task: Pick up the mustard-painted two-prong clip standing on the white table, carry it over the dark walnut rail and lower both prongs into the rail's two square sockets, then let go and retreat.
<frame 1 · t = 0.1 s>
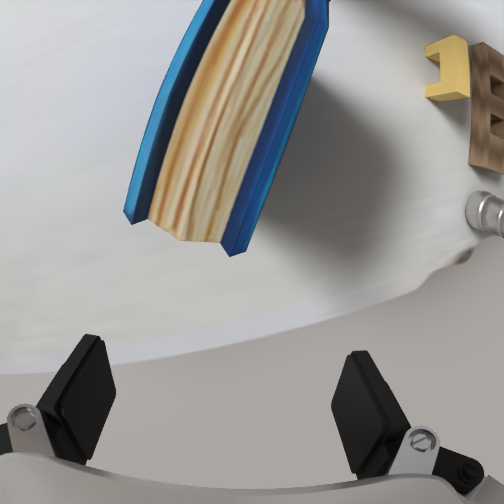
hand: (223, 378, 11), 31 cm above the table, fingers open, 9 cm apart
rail: (482, 107, 35), on the table
book: (241, 113, 36), on the table
clip: (431, 73, 34), on the table
plastic bottle: (472, 207, 41), on the table
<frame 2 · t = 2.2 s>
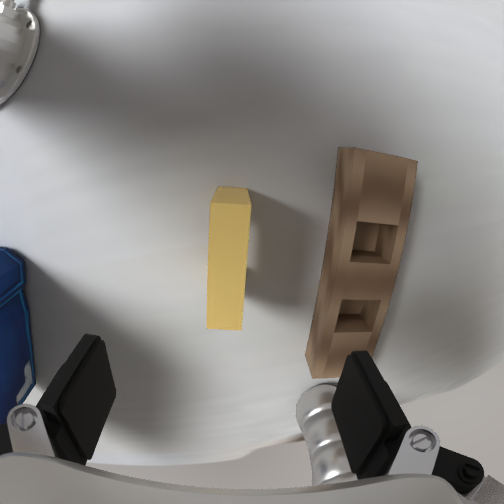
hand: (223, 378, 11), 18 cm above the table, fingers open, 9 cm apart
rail: (351, 265, 29), on the table
book: (14, 315, 30), on the table
clip: (229, 237, 27), on the table
plastic bottle: (317, 395, 35), on the table
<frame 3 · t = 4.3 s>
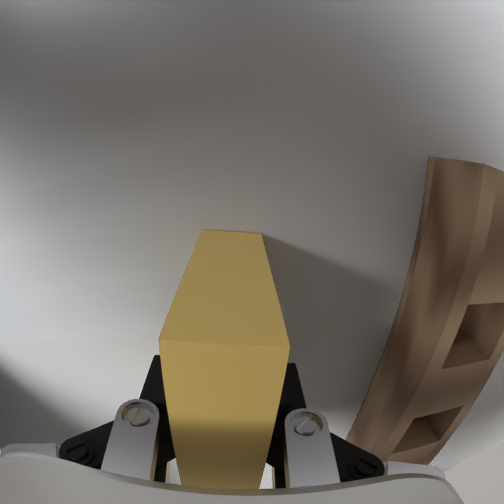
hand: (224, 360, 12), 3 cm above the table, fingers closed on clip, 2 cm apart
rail: (423, 349, 16), on the table
clip: (226, 321, 14), on the table, touching gripper
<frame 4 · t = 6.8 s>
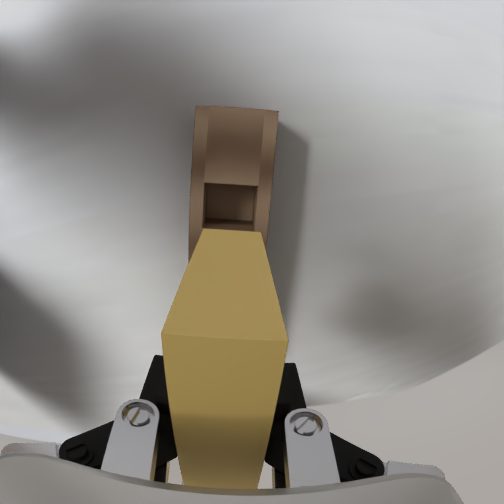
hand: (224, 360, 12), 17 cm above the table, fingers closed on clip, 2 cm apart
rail: (228, 237, 28), on the table
clip: (227, 319, 15), point 14 cm above the table, touching gripper
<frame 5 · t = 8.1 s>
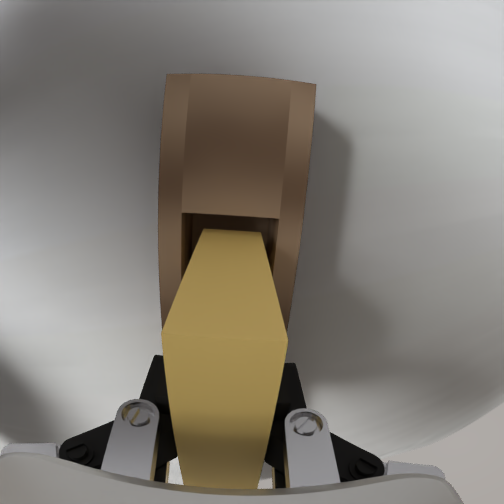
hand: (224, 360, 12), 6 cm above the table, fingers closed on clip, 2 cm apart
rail: (226, 288, 18), on the table
clip: (227, 319, 15), point 3 cm above the table, touching gripper
when the fingers open (4 cm above the table, at t = 9.3 s): clip stays where it is, resting on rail.
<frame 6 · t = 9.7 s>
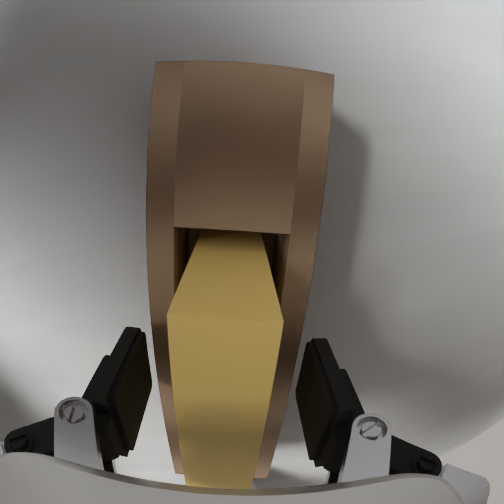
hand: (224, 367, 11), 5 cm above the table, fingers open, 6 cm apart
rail: (227, 307, 16), on the table
clip: (226, 312, 15), resting on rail
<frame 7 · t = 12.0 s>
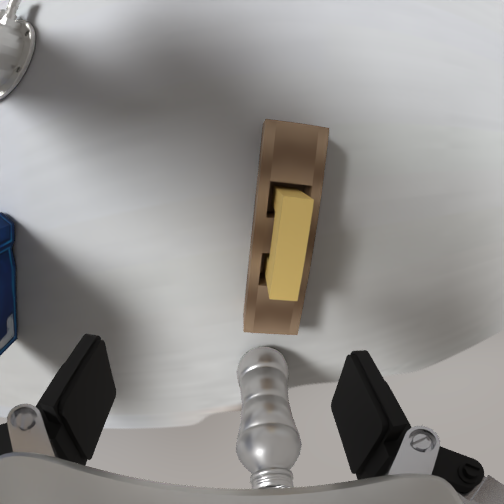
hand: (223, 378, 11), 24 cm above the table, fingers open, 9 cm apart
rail: (279, 227, 33), on the table
book: (3, 273, 34), on the table
clip: (280, 228, 33), resting on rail
plastic bottle: (261, 359, 39), on the table
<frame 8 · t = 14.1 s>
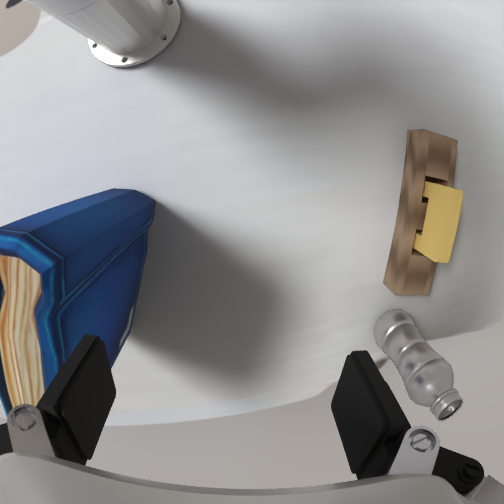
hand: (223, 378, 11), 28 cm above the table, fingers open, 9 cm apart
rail: (415, 211, 38), on the table
book: (121, 260, 39), on the table
clip: (417, 211, 38), resting on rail
plastic bottle: (387, 322, 44), on the table
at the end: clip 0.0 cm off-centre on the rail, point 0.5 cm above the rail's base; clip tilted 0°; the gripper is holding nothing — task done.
